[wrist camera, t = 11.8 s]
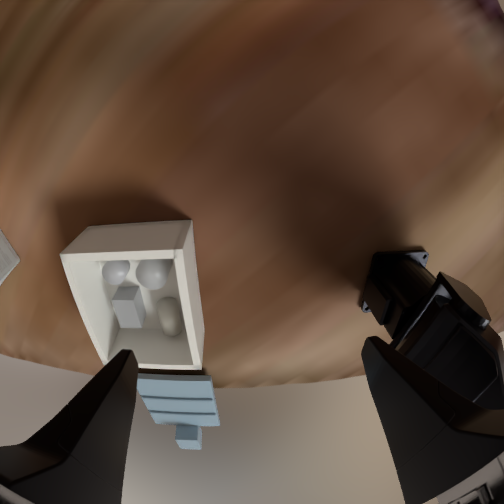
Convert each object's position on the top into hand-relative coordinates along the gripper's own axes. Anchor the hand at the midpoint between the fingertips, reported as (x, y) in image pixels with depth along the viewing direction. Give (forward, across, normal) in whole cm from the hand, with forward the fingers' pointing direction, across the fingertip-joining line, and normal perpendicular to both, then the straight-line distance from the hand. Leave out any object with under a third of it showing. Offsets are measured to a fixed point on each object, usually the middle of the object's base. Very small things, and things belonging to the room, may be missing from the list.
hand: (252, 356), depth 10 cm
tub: (+13, +8, +5) cm, 16 cm away
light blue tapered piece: (+13, +8, +24) cm, 29 cm away
